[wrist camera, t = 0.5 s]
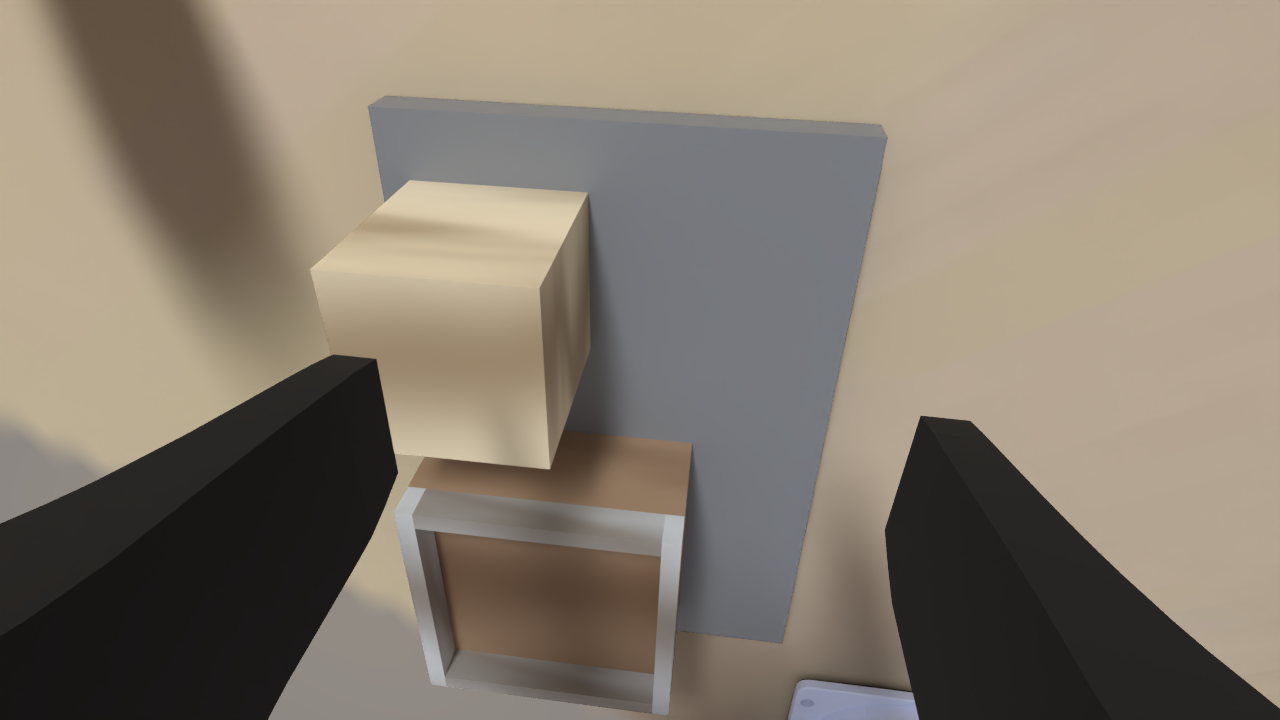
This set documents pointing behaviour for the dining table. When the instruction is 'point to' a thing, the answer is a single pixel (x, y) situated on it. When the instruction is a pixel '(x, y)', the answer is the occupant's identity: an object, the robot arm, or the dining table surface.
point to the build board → (691, 302)
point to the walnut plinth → (552, 571)
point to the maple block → (467, 316)
